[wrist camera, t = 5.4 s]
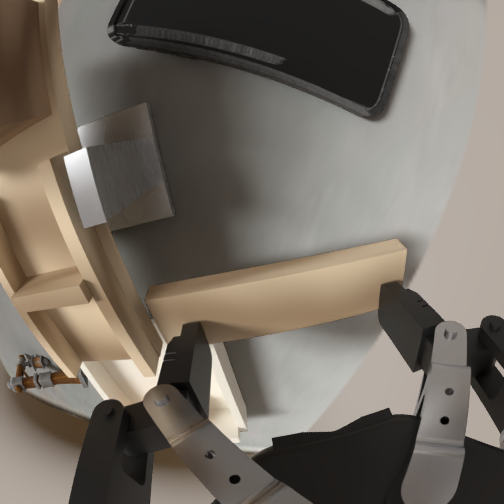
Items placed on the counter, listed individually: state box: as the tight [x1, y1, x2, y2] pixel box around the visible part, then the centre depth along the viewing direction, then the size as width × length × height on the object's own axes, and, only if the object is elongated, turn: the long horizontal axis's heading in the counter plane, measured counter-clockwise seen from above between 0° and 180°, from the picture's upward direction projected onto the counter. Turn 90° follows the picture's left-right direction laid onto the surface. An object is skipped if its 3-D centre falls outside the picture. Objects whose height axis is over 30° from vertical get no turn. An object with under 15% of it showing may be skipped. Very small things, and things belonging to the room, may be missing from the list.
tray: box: [80, 319, 248, 443], centre depth 18 cm, size 11×10×4 cm
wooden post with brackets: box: [7, 355, 88, 393], centre depth 18 cm, size 2×8×4 cm, turn 89°
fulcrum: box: [64, 102, 175, 231], centre depth 11 cm, size 6×9×7 cm, turn 100°
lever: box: [0, 0, 407, 378], centre depth 8 cm, size 17×17×4 cm
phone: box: [107, 0, 409, 116], centre depth 10 cm, size 8×1×15 cm
